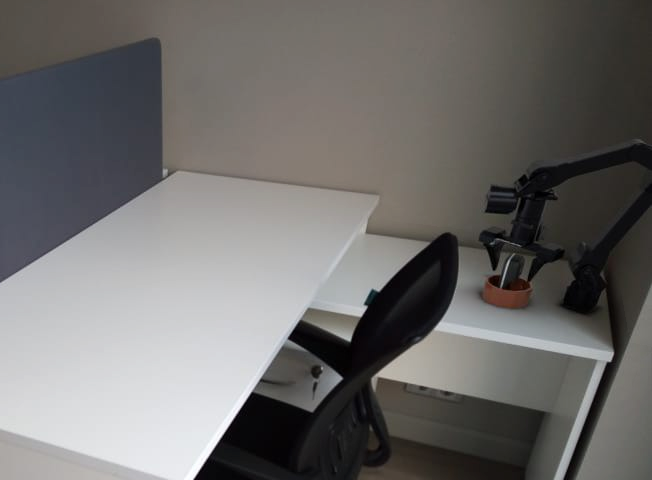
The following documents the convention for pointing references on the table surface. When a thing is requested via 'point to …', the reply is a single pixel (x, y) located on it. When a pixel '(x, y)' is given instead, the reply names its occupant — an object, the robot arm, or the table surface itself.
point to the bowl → (507, 292)
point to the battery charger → (511, 270)
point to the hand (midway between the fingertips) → (511, 276)
